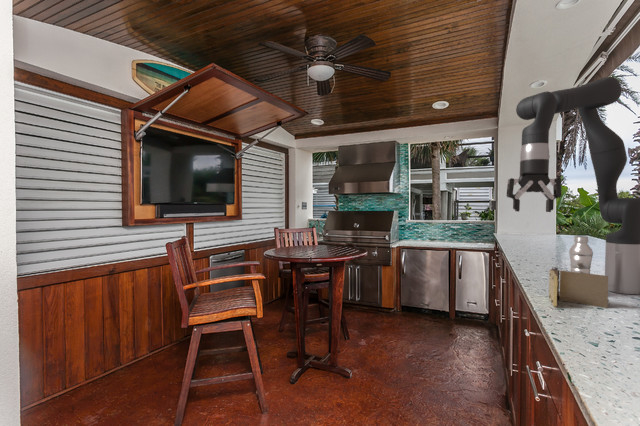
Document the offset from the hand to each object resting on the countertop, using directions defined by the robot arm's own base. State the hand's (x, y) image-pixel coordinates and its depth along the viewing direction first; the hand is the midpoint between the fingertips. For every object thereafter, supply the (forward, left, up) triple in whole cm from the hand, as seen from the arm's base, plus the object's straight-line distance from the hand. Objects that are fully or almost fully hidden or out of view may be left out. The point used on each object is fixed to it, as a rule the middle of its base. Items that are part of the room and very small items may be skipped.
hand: (532, 211), depth 101 cm
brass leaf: (-7, 0, -28) cm, 29 cm away
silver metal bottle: (-21, -12, -29) cm, 38 cm away
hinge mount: (-16, -4, -28) cm, 33 cm away
